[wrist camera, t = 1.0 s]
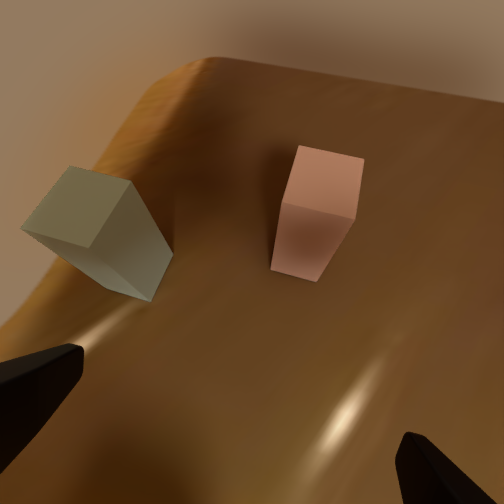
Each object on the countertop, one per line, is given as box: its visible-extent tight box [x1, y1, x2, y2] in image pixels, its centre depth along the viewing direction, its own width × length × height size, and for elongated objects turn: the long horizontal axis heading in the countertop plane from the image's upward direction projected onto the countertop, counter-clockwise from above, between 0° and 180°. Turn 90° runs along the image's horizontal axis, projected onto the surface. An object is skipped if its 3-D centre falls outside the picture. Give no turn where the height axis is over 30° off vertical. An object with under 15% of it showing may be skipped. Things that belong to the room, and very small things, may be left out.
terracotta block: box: [270, 145, 364, 282], centre depth 20 cm, size 4×4×10 cm
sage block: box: [21, 166, 173, 302], centre depth 19 cm, size 4×4×10 cm
